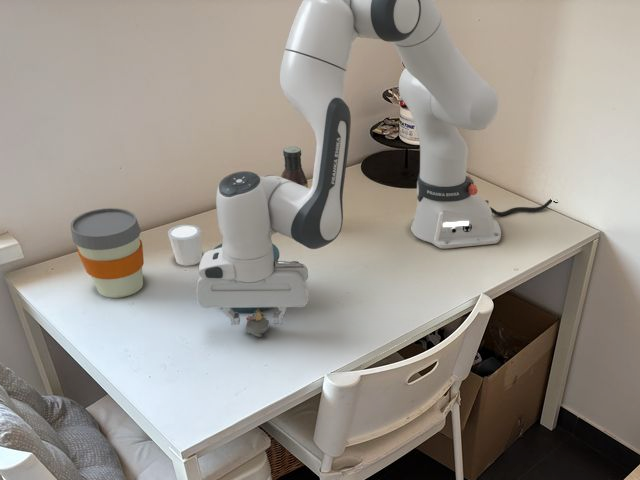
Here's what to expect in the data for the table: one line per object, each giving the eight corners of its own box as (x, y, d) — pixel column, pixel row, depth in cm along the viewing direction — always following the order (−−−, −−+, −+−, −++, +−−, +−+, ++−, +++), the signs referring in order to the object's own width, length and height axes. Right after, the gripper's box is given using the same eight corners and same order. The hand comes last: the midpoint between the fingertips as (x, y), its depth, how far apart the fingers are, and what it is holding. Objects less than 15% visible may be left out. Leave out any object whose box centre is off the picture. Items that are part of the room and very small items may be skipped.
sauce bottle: (305, 235, 171) (300, 157, 159) (280, 232, 171) (273, 153, 159) (313, 223, 176) (309, 146, 164) (289, 220, 176) (283, 143, 164)
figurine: (260, 342, 137) (256, 316, 133) (240, 335, 138) (237, 310, 134) (275, 328, 141) (272, 303, 137) (256, 322, 142) (253, 297, 138)
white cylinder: (211, 257, 160) (207, 230, 156) (188, 270, 155) (183, 242, 151) (189, 248, 163) (184, 221, 158) (166, 260, 158) (160, 232, 154)
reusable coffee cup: (165, 283, 151) (151, 219, 142) (114, 309, 142) (96, 243, 133) (126, 264, 156) (110, 201, 146) (74, 288, 147) (54, 224, 138)
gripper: (307, 252, 133) (312, 313, 142) (195, 252, 131) (206, 314, 139) (306, 270, 128) (310, 331, 137) (189, 270, 126) (201, 333, 134)
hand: (257, 322), depth 138 cm, fingers open, 7 cm apart
